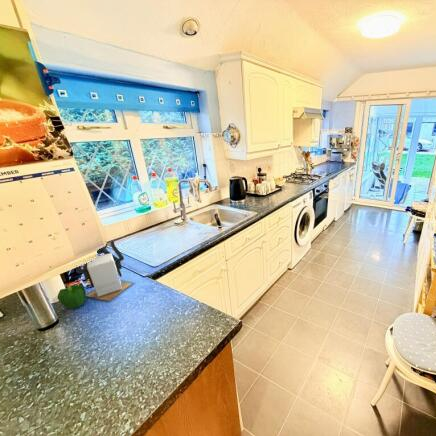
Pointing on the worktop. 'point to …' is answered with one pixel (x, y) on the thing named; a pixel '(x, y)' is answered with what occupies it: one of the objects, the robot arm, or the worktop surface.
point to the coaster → (110, 295)
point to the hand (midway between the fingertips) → (106, 280)
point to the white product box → (104, 274)
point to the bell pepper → (72, 296)
